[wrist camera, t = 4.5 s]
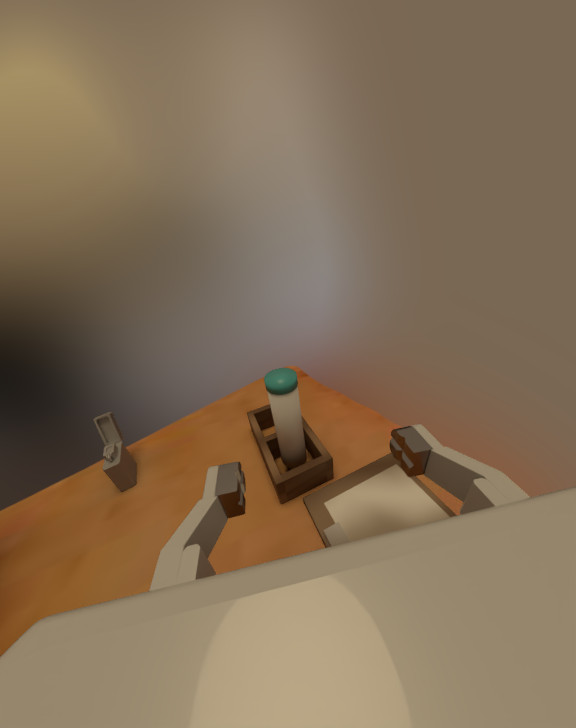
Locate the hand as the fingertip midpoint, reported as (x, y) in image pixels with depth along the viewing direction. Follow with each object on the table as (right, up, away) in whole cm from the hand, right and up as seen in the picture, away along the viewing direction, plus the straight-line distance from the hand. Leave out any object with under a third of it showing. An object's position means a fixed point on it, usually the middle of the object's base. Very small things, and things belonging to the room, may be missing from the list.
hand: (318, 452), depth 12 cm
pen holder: (-2, -7, +19) cm, 20 cm away
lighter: (-24, -10, +20) cm, 32 cm away
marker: (-1, -8, +16) cm, 18 cm away
